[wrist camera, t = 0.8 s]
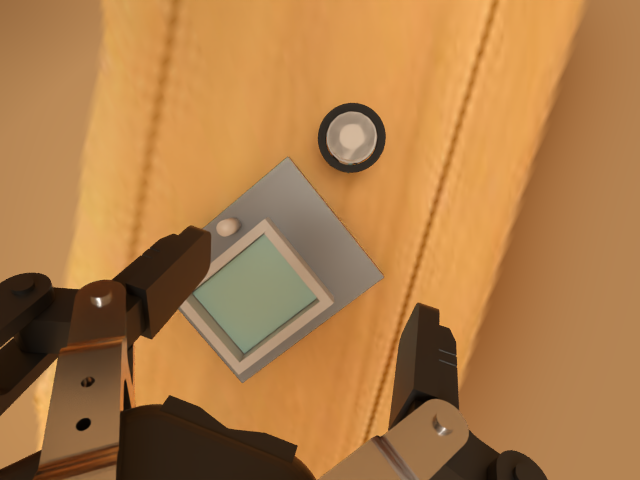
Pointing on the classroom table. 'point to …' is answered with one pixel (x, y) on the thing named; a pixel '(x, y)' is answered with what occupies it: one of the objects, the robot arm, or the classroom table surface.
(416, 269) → the classroom table surface
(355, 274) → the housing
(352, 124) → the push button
